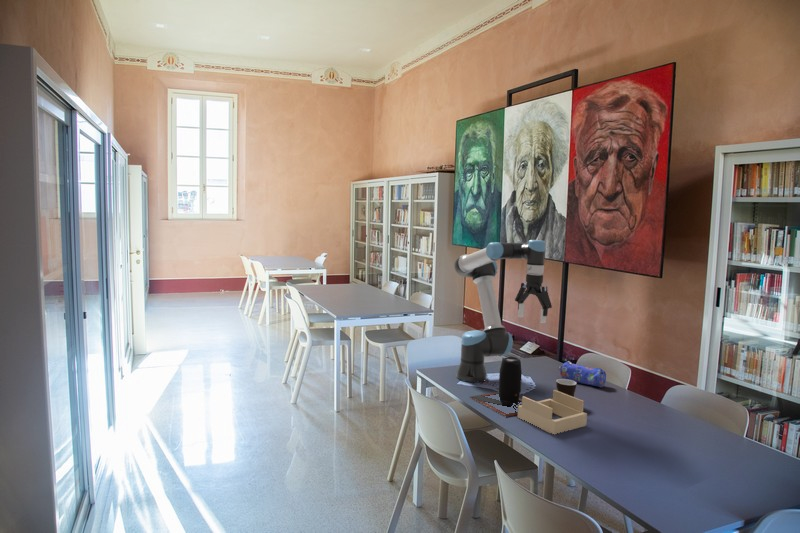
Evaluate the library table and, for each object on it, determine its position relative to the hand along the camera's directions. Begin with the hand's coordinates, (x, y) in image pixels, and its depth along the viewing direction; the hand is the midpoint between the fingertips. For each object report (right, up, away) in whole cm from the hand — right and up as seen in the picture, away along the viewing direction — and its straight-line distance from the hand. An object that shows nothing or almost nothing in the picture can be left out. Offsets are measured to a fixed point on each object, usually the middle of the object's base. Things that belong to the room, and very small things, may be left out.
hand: (531, 320), depth 248 cm
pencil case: (+31, -34, +24) cm, 52 cm away
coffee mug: (+14, -36, -7) cm, 39 cm away
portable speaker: (-13, -35, -12) cm, 39 cm away
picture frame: (-14, -37, -11) cm, 41 cm away
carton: (+1, -38, -29) cm, 48 cm away
